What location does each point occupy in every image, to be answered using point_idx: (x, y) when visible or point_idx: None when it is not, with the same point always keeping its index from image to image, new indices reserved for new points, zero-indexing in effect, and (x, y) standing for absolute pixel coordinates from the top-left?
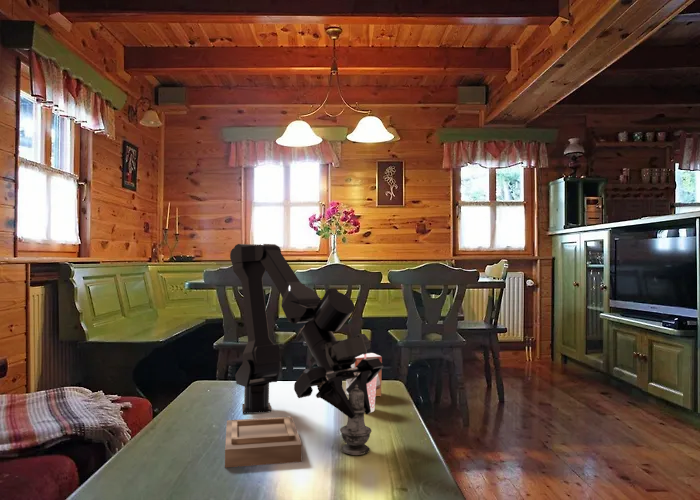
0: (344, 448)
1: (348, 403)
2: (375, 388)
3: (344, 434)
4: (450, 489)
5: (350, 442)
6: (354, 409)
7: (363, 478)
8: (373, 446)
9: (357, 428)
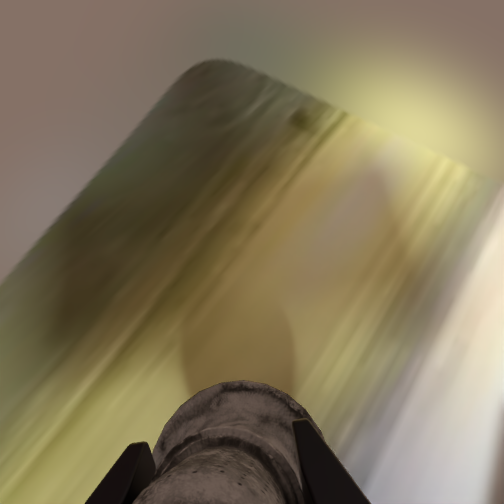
0: None
1: (337, 500)
2: None
3: None
4: (198, 69)
5: None
6: (270, 472)
7: (365, 225)
8: None
9: (262, 428)
